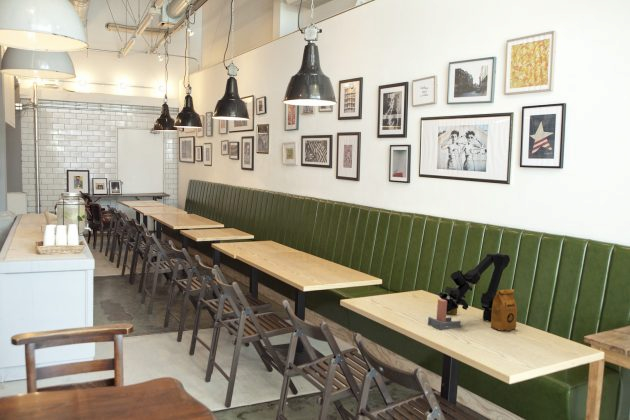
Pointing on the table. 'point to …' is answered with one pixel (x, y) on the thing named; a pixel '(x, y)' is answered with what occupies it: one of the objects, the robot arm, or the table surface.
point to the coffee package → (504, 311)
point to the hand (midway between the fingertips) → (444, 312)
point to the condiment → (452, 312)
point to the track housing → (443, 326)
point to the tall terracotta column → (441, 310)
